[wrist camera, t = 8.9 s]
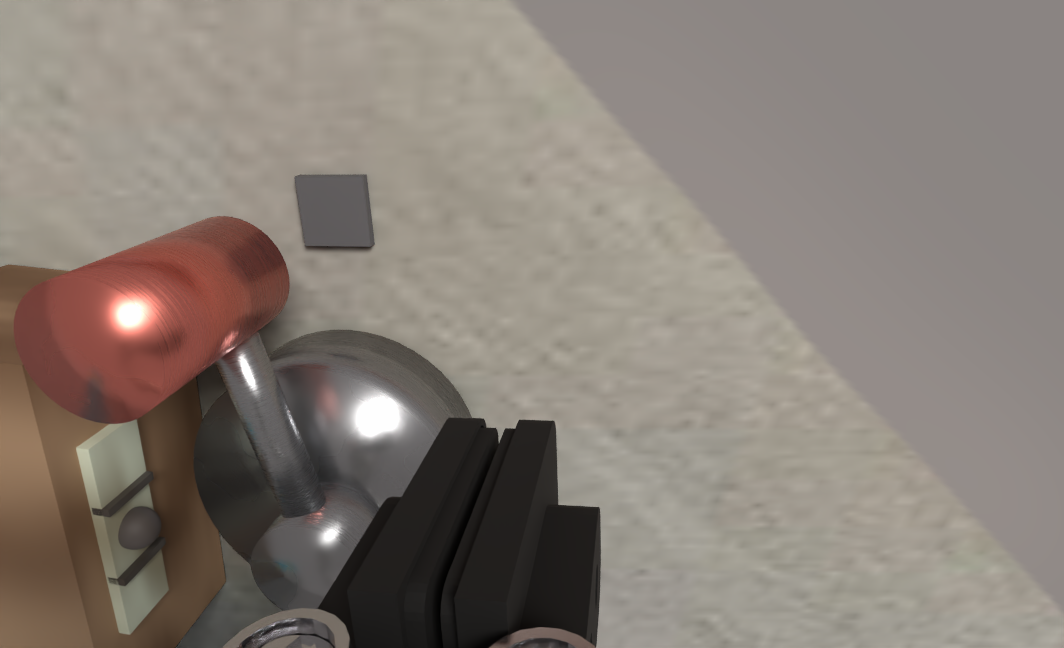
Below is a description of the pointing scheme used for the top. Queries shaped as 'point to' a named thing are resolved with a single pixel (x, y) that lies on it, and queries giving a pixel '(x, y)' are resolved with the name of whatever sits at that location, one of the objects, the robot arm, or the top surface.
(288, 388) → the red knob control stick
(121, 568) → the brown rectangular block
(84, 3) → the top surface
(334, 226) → the dark grey square block
